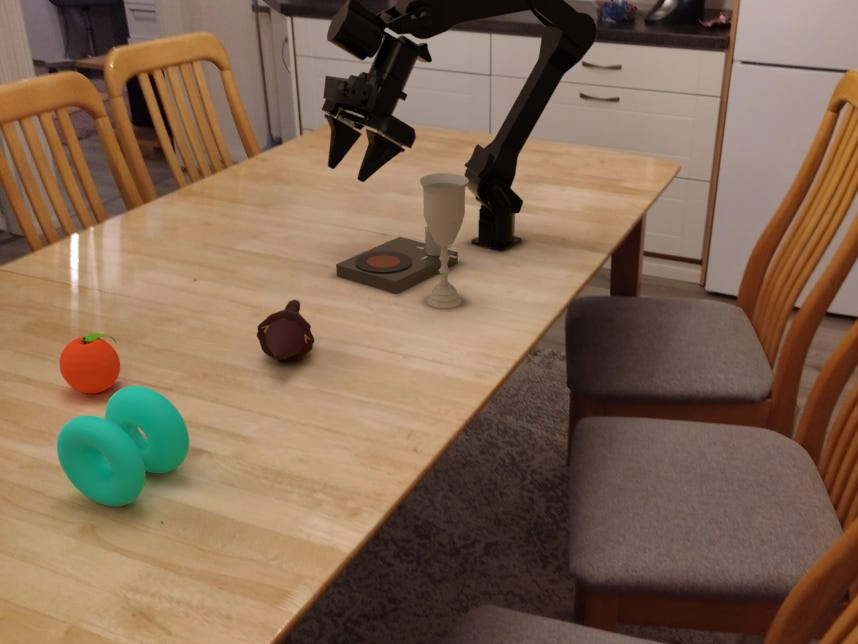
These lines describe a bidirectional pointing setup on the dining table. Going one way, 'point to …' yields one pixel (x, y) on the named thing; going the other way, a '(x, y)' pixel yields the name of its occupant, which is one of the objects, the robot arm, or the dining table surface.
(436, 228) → the chalice
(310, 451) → the dining table surface
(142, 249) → the dining table surface
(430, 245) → the hob knob
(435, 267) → the hob
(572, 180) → the dining table surface
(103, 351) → the clementine
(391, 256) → the burner
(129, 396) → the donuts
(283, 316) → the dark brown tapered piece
